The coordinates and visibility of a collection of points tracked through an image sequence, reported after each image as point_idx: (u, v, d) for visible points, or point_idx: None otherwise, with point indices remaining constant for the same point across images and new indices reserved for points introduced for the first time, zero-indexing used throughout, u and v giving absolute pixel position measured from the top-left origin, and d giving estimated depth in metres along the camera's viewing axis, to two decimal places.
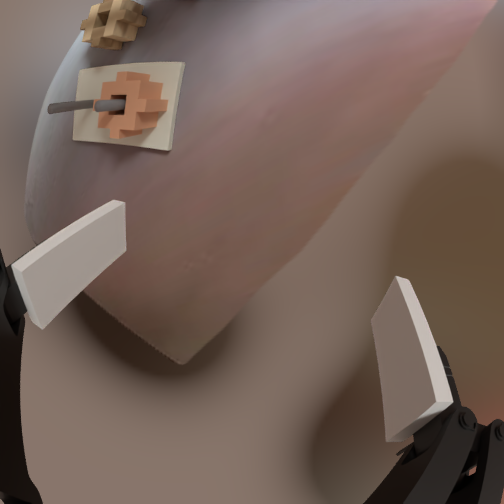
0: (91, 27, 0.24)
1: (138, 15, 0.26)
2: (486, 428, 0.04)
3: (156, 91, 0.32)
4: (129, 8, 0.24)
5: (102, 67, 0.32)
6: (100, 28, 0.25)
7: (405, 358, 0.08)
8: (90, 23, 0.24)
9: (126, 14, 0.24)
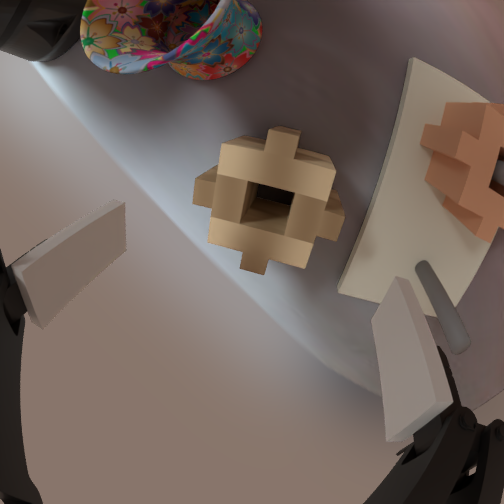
0: (277, 239, 0.18)
1: (279, 127, 0.17)
2: (486, 428, 0.04)
3: None
4: (254, 143, 0.17)
5: (365, 235, 0.21)
6: (295, 210, 0.17)
7: (405, 358, 0.08)
8: (262, 244, 0.18)
9: (284, 132, 0.15)
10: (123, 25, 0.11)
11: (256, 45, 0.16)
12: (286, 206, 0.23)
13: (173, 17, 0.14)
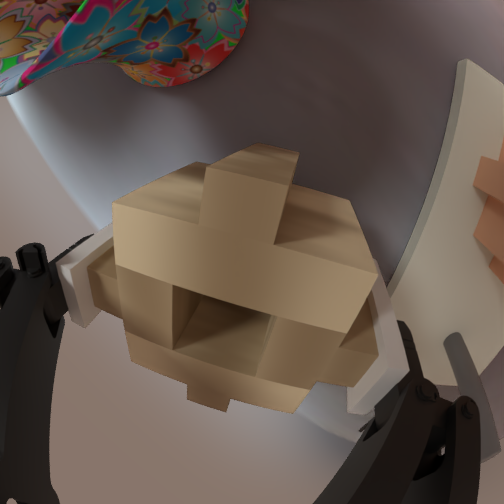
0: (243, 380, 0.09)
1: (252, 150, 0.09)
2: (451, 406, 0.05)
3: None
4: (196, 189, 0.08)
5: None
6: (277, 345, 0.08)
7: None
8: (217, 382, 0.09)
9: (251, 172, 0.06)
10: (40, 19, 0.05)
11: (239, 32, 0.10)
12: None
13: None
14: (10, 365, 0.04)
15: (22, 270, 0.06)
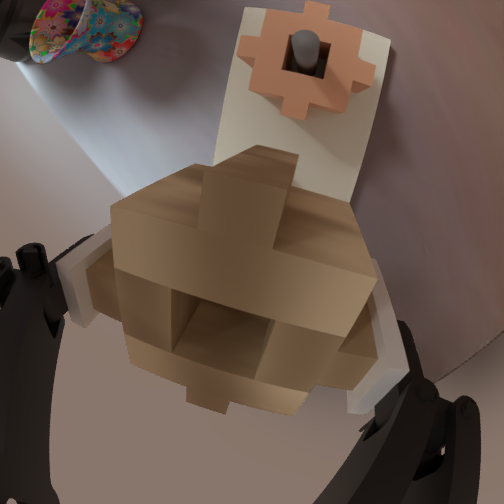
0: (242, 383, 0.09)
1: (251, 152, 0.09)
2: (451, 406, 0.05)
3: None
4: (195, 192, 0.08)
5: (217, 151, 0.25)
6: (276, 349, 0.08)
7: None
8: (216, 384, 0.09)
9: (249, 176, 0.06)
10: (53, 36, 0.15)
11: (137, 32, 0.20)
12: None
13: None
14: (10, 365, 0.04)
15: (22, 270, 0.06)
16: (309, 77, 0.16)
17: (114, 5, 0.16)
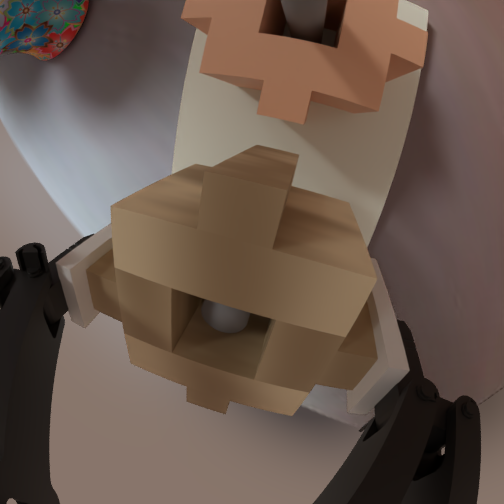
0: (242, 383, 0.09)
1: (251, 152, 0.09)
2: (451, 406, 0.05)
3: None
4: (195, 192, 0.08)
5: (175, 172, 0.17)
6: (276, 348, 0.08)
7: None
8: (216, 384, 0.09)
9: (249, 176, 0.06)
10: None
11: (80, 18, 0.12)
12: None
13: None
14: (10, 365, 0.04)
15: (22, 270, 0.06)
16: (310, 45, 0.08)
17: None
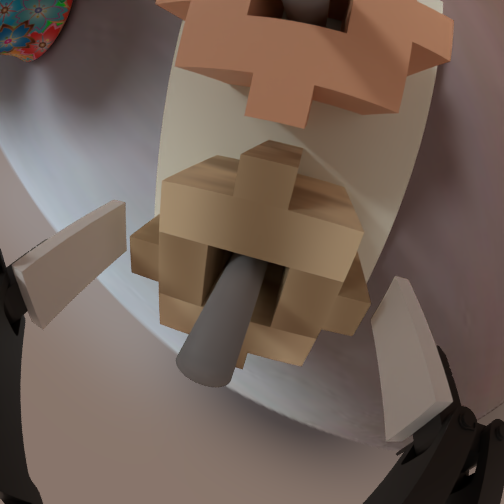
0: (260, 331, 0.11)
1: (267, 145, 0.11)
2: (486, 428, 0.04)
3: None
4: (224, 174, 0.11)
5: (159, 182, 0.15)
6: (289, 294, 0.10)
7: (405, 358, 0.08)
8: None
9: (271, 159, 0.08)
10: None
11: (63, 15, 0.10)
12: None
13: None
14: None
15: None
16: (312, 29, 0.06)
17: None
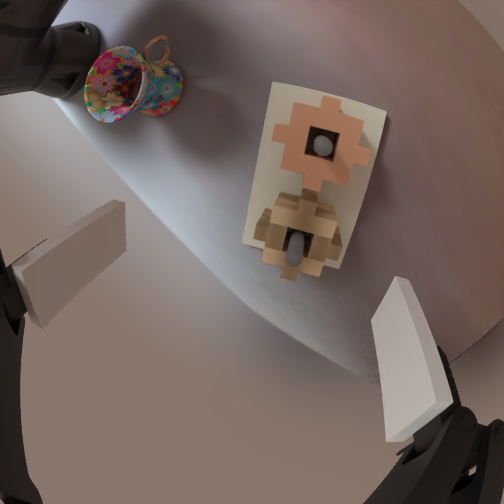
0: (303, 260, 0.30)
1: (304, 191, 0.30)
2: (486, 428, 0.04)
3: None
4: (290, 202, 0.30)
5: (251, 201, 0.35)
6: (314, 244, 0.29)
7: (405, 358, 0.08)
8: None
9: (309, 200, 0.28)
10: (106, 92, 0.25)
11: (179, 93, 0.30)
12: (306, 237, 0.35)
13: (135, 78, 0.29)
14: None
15: None
16: (323, 160, 0.25)
17: (159, 68, 0.26)
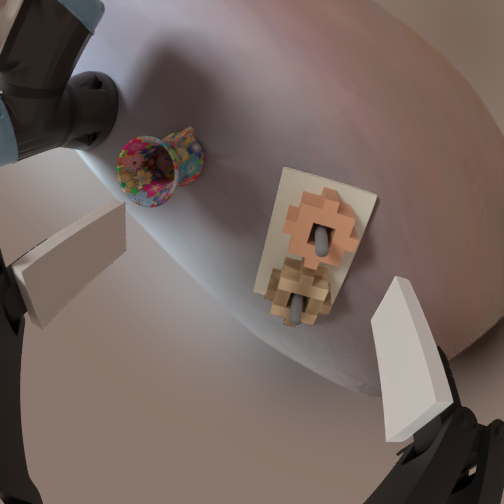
0: None
1: None
2: (486, 428, 0.04)
3: (313, 196, 0.36)
4: (293, 271, 0.39)
5: (261, 262, 0.44)
6: (310, 304, 0.39)
7: (405, 358, 0.08)
8: None
9: (308, 274, 0.37)
10: (136, 170, 0.34)
11: (201, 168, 0.39)
12: None
13: (159, 149, 0.37)
14: None
15: None
16: None
17: (184, 149, 0.34)
